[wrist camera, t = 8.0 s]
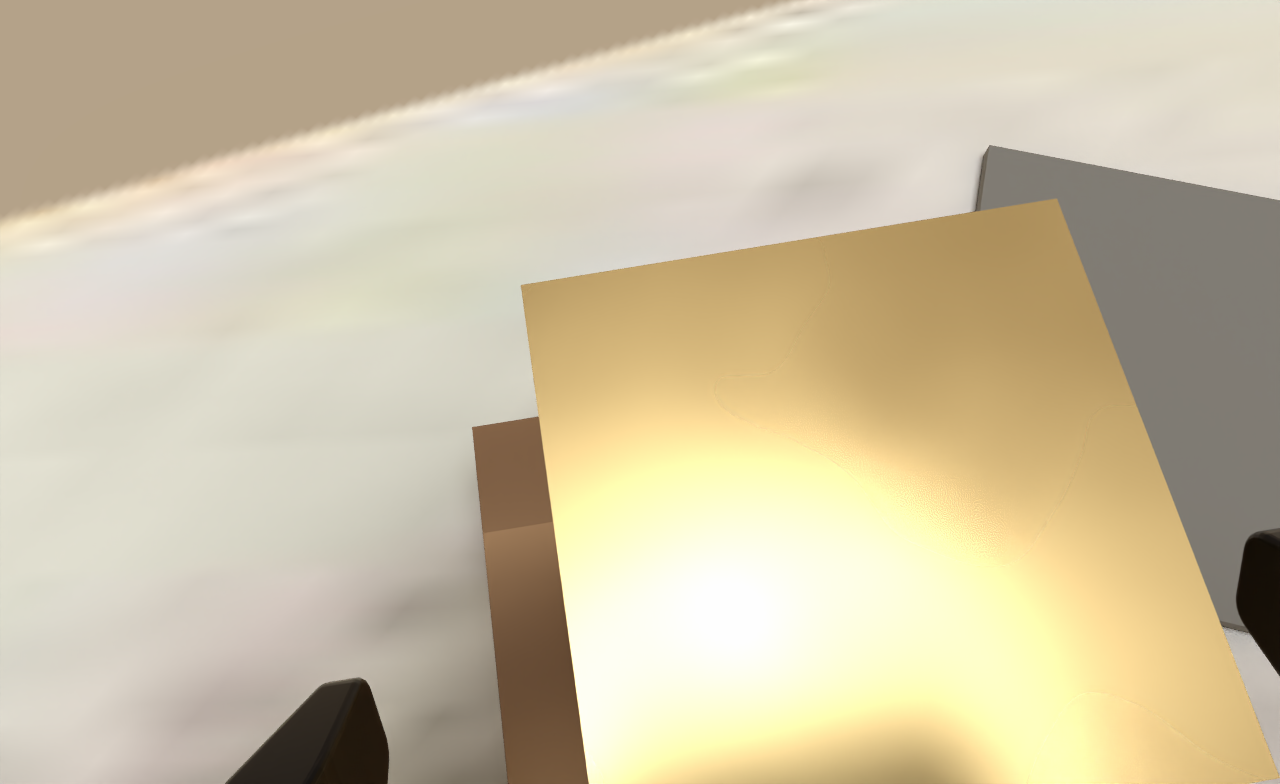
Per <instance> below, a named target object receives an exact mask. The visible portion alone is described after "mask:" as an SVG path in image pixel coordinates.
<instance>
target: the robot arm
mask: <svg viewBox="0 0 1280 784" xmlns="http://www.w3.org/2000/svg"><path fill="white" fill-rule="evenodd" d="M1236 607H1237V611H1238V614H1239V616H1240V618H1241V621H1242V622H1243V624H1244V626H1245V627H1246V629H1247V630H1248V631H1249V633H1250V634H1251V636H1252V637H1253V639H1254V640H1255V642H1256V643H1257V644H1258V646H1259V647H1260V649H1261V650H1262V652H1263V653H1264V654H1265V656H1266V657H1267V659H1268V660H1269V662H1270V663H1271V665H1272V666H1273V667H1274V669H1275V670H1276V672H1277V673H1278V675H1279V676H1280V528H1276V529H1270V530H1264V531H1258V532H1255V533H1253V534H1251V535H1250V536H1249V537H1248V539H1247V540H1246V542H1245V545H1244V550H1243V556H1242V562H1241V568H1240V574H1239V579H1238V585H1237V591H1236ZM388 769H389V750H388V743H387V738H386V735H385V732H384V729H383V726H382V722H381V719H380V716H379V713H378V710H377V707H376V704H375V701H374V698H373V695H372V692H371V689H370V686H369V685H368V683H367V682H366V681H365V680H363V679H361V678H352V679H346V680H339V681H333V682H328V683H325V684H323V685H321V686H320V687H319V688H317V689H316V690H315V691H314V692H313V693H312V694H311V695H310V696H309V698H308V699H307V700H306V701H305V702H304V703H303V704H302V705H301V706H300V707H299V708H298V709H297V710H296V711H295V712H294V713H293V714H292V715H291V716H290V717H289V718H288V719H287V720H286V721H285V722H284V723H283V724H282V725H281V726H280V727H279V728H278V729H277V730H276V731H275V732H274V734H273V735H272V736H271V737H270V738H269V739H268V740H267V741H266V742H265V743H264V744H263V745H262V746H261V747H260V748H259V749H258V750H257V751H256V752H255V753H254V754H253V755H252V756H251V757H250V758H249V759H248V760H247V761H246V762H245V763H244V764H243V765H242V766H241V767H240V768H239V770H238V771H237V772H236V773H235V774H234V775H233V776H232V777H231V778H230V779H229V780H228V781H227V782H226V783H225V784H387V782H388Z"/></svg>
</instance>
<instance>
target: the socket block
mask: <svg viewBox="0 0 1280 784" xmlns="http://www.w3.org/2000/svg"><path fill="white" fill-rule="evenodd" d="M472 430H473V440H474V450H475V460H476V470H477V480H478V490H479V500H480V510H481V519H482V529H483V539H484V549H485V559H486V569H487V579H488V589H489V599H490V609H491V619H492V629H493V639H494V649H495V659H496V669H497V679H498V688H499V698H500V708H501V718H502V728H503V738H504V748H505V758H506V768H507V778H508V784H589V779H588V772H587V765H586V757H585V750H584V743H583V735H582V728H581V721H580V713H579V706H578V699H577V692H576V684H575V677H574V670H573V662H572V655H571V648H570V640H569V633H568V626H567V619H566V611H565V604H564V597H563V589H562V582H561V575H560V567H559V560H558V553H557V545H556V538H555V531H554V524H553V516H552V509H551V502H550V494H549V487H548V480H547V472H546V465H545V458H544V450H543V443H542V436H541V429H540V421H539V417H533V418H527V419H521V420H515V421H508V422H502V423H496V424H490V425H483V426H477V427H472Z"/></svg>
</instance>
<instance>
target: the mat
mask: <svg viewBox="0 0 1280 784" xmlns="http://www.w3.org/2000/svg"><path fill="white" fill-rule="evenodd" d="M1050 199H1057V200H1058V203H1059V205H1060V208H1061V210H1062V213H1063V216H1064V218H1065V221H1066V223H1067V226H1068V229H1069V231H1070V234H1071V236H1072V239H1073V242H1074V244H1075V247H1076V249H1077V252H1078V255H1079V257H1080V260H1081V262H1082V265H1083V268H1084V270H1085V273H1086V275H1087V278H1088V281H1089V283H1090V286H1091V288H1092V291H1093V294H1094V296H1095V299H1096V301H1097V304H1098V307H1099V309H1100V312H1101V314H1102V317H1103V320H1104V322H1105V325H1106V327H1107V330H1108V333H1109V335H1110V338H1111V340H1112V343H1113V346H1114V348H1115V351H1116V353H1117V356H1118V359H1119V361H1120V364H1121V366H1122V369H1123V372H1124V374H1125V377H1126V379H1127V382H1128V385H1129V387H1130V390H1131V392H1132V395H1133V398H1134V400H1135V403H1136V405H1137V408H1138V411H1139V413H1140V416H1141V418H1142V421H1143V423H1144V426H1145V429H1146V431H1147V434H1148V436H1149V439H1150V442H1151V444H1152V447H1153V449H1154V452H1155V455H1156V457H1157V460H1158V462H1159V465H1160V468H1161V470H1162V473H1163V475H1164V478H1165V481H1166V483H1167V486H1168V488H1169V491H1170V494H1171V496H1172V499H1173V501H1174V504H1175V507H1176V509H1177V512H1178V514H1179V517H1180V520H1181V522H1182V525H1183V527H1184V530H1185V533H1186V535H1187V538H1188V540H1189V543H1190V546H1191V548H1192V551H1193V553H1194V556H1195V559H1196V561H1197V564H1198V566H1199V569H1200V572H1201V574H1202V577H1203V579H1204V582H1205V585H1206V587H1207V590H1208V592H1209V595H1210V598H1211V600H1212V603H1213V605H1214V608H1215V611H1216V613H1217V616H1218V618H1219V621H1220V624H1221V626H1224V627H1228V628H1232V629H1236V630H1240V631H1244V632H1248V633H1249V631H1248V630H1247V629H1246V627H1245V626H1244V624H1243V622H1242V621H1241V618H1240V616H1239V614H1238V611H1237V607H1236V591H1237V585H1238V579H1239V574H1240V568H1241V562H1242V556H1243V550H1244V545H1245V542H1246V540H1247V539H1248V537H1249V536H1250V535H1251V534H1253V533H1255V532H1258V531H1264V530H1270V529H1276V528H1280V200H1275V199H1269V198H1264V197H1259V196H1254V195H1248V194H1243V193H1238V192H1233V191H1227V190H1222V189H1217V188H1212V187H1206V186H1201V185H1196V184H1191V183H1185V182H1180V181H1175V180H1170V179H1165V178H1159V177H1154V176H1149V175H1144V174H1138V173H1133V172H1128V171H1123V170H1117V169H1112V168H1107V167H1102V166H1096V165H1091V164H1086V163H1081V162H1075V161H1070V160H1065V159H1060V158H1055V157H1049V156H1044V155H1039V154H1034V153H1028V152H1023V151H1018V150H1013V149H1007V148H1002V147H997V146H992V145H989V147H988V149H987V151H986V152H985V154H984V159H983V166H982V173H981V179H980V186H979V193H978V200H977V207H976V211H982V210H989V209H995V208H1001V207H1007V206H1013V205H1020V204H1026V203H1032V202H1038V201H1044V200H1050Z"/></svg>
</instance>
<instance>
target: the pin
mask: <svg viewBox="0 0 1280 784" xmlns="http://www.w3.org/2000/svg"><path fill="white" fill-rule="evenodd" d="M521 290H522V297H523V304H524V312H525V319H526V326H527V334H528V341H529V348H530V355H531V363H532V370H533V377H534V385H535V392H536V399H537V407H538V414H539V421H540V429H541V436H542V443H543V450H544V458H545V465H546V472H547V480H548V487H549V494H550V502H551V509H552V516H553V524H554V531H555V538H556V545H557V553H558V560H559V567H560V575H561V582H562V589H563V597H564V604H565V611H566V619H567V626H568V633H569V640H570V648H571V655H572V662H573V670H574V677H575V684H576V692H577V699H578V706H579V713H580V721H581V728H582V735H583V743H584V750H585V757H586V765H587V772H588V779H589V784H1250V783H1255V782H1260V781H1266V780H1271V779H1276V778H1280V777H1279V774H1278V772H1277V769H1276V767H1275V764H1274V761H1273V759H1272V756H1271V754H1270V751H1269V748H1268V746H1267V743H1266V741H1265V738H1264V735H1263V733H1262V730H1261V728H1260V725H1259V722H1258V720H1257V717H1256V715H1255V712H1254V709H1253V707H1252V704H1251V702H1250V699H1249V696H1248V694H1247V691H1246V689H1245V686H1244V683H1243V681H1242V678H1241V676H1240V673H1239V670H1238V668H1237V665H1236V663H1235V660H1234V657H1233V655H1232V652H1231V650H1230V647H1229V644H1228V642H1227V639H1226V637H1225V634H1224V631H1223V629H1222V626H1221V624H1220V621H1219V618H1218V616H1217V613H1216V611H1215V608H1214V605H1213V603H1212V600H1211V598H1210V595H1209V592H1208V590H1207V587H1206V585H1205V582H1204V579H1203V577H1202V574H1201V572H1200V569H1199V566H1198V564H1197V561H1196V559H1195V556H1194V553H1193V551H1192V548H1191V546H1190V543H1189V540H1188V538H1187V535H1186V533H1185V530H1184V527H1183V525H1182V522H1181V520H1180V517H1179V514H1178V512H1177V509H1176V507H1175V504H1174V501H1173V499H1172V496H1171V494H1170V491H1169V488H1168V486H1167V483H1166V481H1165V478H1164V475H1163V473H1162V470H1161V468H1160V465H1159V462H1158V460H1157V457H1156V455H1155V452H1154V449H1153V447H1152V444H1151V442H1150V439H1149V436H1148V434H1147V431H1146V429H1145V426H1144V423H1143V421H1142V418H1141V416H1140V413H1139V411H1138V408H1137V405H1136V403H1135V400H1134V398H1133V395H1132V392H1131V390H1130V387H1129V385H1128V382H1127V379H1126V377H1125V374H1124V372H1123V369H1122V366H1121V364H1120V361H1119V359H1118V356H1117V353H1116V351H1115V348H1114V346H1113V343H1112V340H1111V338H1110V335H1109V333H1108V330H1107V327H1106V325H1105V322H1104V320H1103V317H1102V314H1101V312H1100V309H1099V307H1098V304H1097V301H1096V299H1095V296H1094V294H1093V291H1092V288H1091V286H1090V283H1089V281H1088V278H1087V275H1086V273H1085V270H1084V268H1083V265H1082V262H1081V260H1080V257H1079V255H1078V252H1077V249H1076V247H1075V244H1074V242H1073V239H1072V236H1071V234H1070V231H1069V229H1068V226H1067V223H1066V221H1065V218H1064V216H1063V213H1062V210H1061V208H1060V205H1059V203H1058V200H1057V199H1050V200H1044V201H1038V202H1032V203H1026V204H1020V205H1013V206H1007V207H1001V208H995V209H989V210H982V211H976V212H970V213H964V214H958V215H952V216H945V217H939V218H933V219H927V220H921V221H914V222H908V223H902V224H896V225H890V226H884V227H877V228H871V229H865V230H859V231H853V232H847V233H840V234H834V235H828V236H822V237H816V238H809V239H803V240H797V241H791V242H785V243H779V244H772V245H766V246H760V247H754V248H748V249H741V250H735V251H729V252H723V253H717V254H711V255H704V256H698V257H692V258H686V259H680V260H673V261H667V262H661V263H655V264H649V265H643V266H636V267H630V268H624V269H618V270H612V271H606V272H599V273H593V274H587V275H581V276H575V277H568V278H562V279H556V280H550V281H544V282H538V283H531V284H525V285H521Z"/></svg>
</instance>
